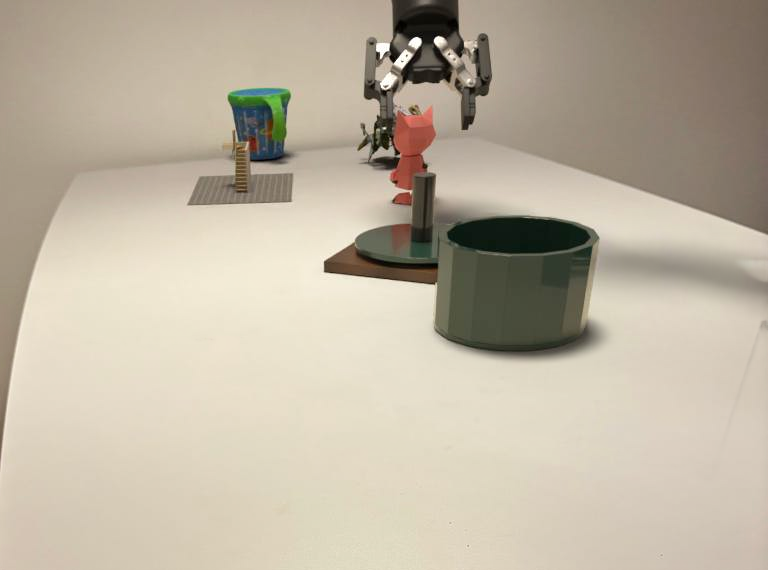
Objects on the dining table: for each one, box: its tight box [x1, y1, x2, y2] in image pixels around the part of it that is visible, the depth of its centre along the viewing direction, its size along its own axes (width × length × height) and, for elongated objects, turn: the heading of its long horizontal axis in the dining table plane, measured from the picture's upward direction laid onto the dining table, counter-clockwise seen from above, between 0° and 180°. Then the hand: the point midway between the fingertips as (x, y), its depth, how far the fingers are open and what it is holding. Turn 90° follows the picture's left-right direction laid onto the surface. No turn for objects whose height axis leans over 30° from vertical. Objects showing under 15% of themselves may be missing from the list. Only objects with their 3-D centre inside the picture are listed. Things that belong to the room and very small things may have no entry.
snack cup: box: [227, 87, 292, 161], centre depth 164 cm, size 16×10×10 cm
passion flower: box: [357, 101, 423, 164], centre depth 156 cm, size 11×11×12 cm
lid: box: [354, 171, 450, 264], centre depth 109 cm, size 16×16×8 cm
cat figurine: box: [386, 104, 437, 205], centre depth 133 cm, size 7×7×12 cm
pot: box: [433, 214, 601, 352], centre depth 91 cm, size 15×15×8 cm
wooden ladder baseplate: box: [187, 129, 294, 206], centre depth 145 cm, size 16×20×8 cm
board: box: [323, 241, 437, 285], centre depth 112 cm, size 18×16×1 cm
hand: (427, 126), depth 106 cm, fingers open, 8 cm apart
